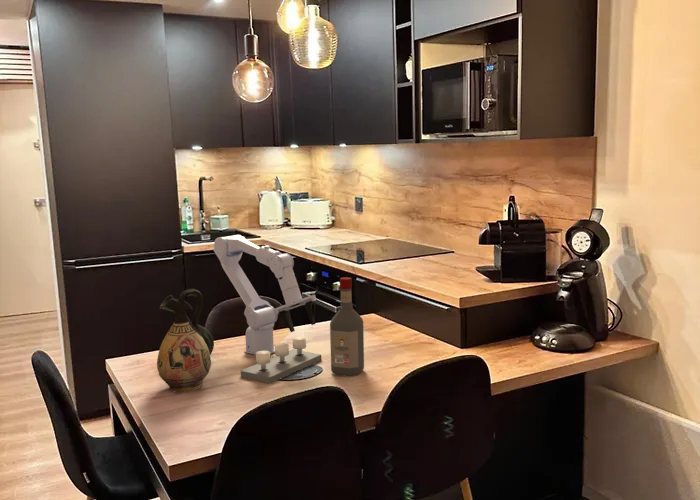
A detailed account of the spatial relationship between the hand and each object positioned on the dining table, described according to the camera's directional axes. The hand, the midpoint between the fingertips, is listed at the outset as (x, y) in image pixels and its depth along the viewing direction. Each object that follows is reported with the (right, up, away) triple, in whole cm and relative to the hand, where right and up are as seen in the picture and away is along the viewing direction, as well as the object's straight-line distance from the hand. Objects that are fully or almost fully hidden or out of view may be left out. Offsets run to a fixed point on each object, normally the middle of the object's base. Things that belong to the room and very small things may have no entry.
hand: (303, 328), depth 215 cm
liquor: (+15, -13, -9) cm, 22 cm away
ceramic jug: (-33, -15, -21) cm, 42 cm away
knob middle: (-6, -10, -5) cm, 13 cm away
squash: (-38, -12, +4) cm, 40 cm away
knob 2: (-1, -9, +2) cm, 9 cm away
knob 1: (-11, -11, -13) cm, 20 cm away
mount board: (-6, -12, -5) cm, 15 cm away
